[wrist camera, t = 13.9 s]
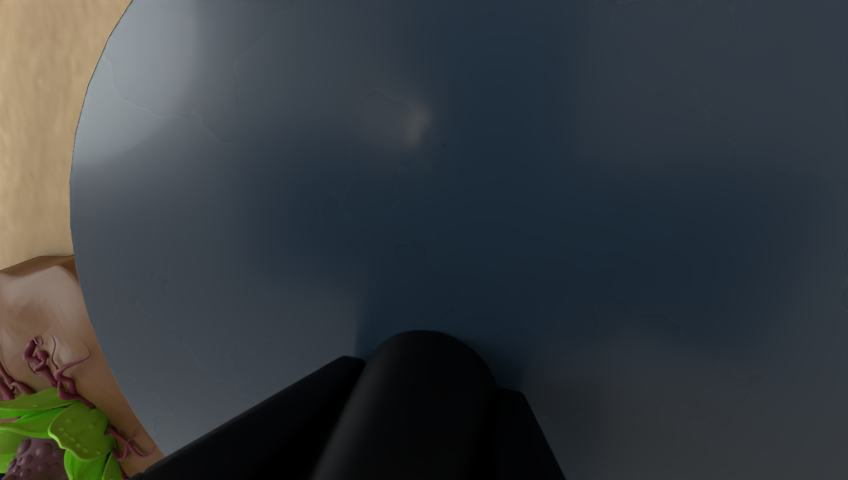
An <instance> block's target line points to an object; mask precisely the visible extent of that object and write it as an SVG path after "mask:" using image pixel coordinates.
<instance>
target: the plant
mask: <svg viewBox="0 0 848 480" xmlns="http://www.w3.org/2000/svg"><path fill="white" fill-rule="evenodd" d="M165 457H166V456H165V455H164V454H163V453H162V452H161V450H160V449H159V448H158V446H157V445H156V443H155V442H154V441H153V439H152V438H151V437H150V435H149V434H148V432H147V431H146V430H145V428H144V427H143V425H142V424H141V423H140V421H139V420H138V418H137V417H136V415H135V413H134V412H133V410H132V408H131V407H130V405H129V403H128V401H127V400H126V398H125V396H124V395H123V393H122V391H121V390H120V388H119V386H118V385H117V382H116V380H115V378H114V376H113V374H112V372H111V370H110V368H109V366H108V364H107V362H106V360H105V357H104V355H103V353H102V351H101V349H100V346H99V344H98V341H97V338H96V335H95V333H94V330H93V327H92V324H91V322H90V319H89V316H88V314H87V311H86V307H85V303H84V299H83V295H82V291H81V287H80V283H79V279H78V275H77V271H76V265H75V257H74V255H73V256H69V257H62V258H57V257H51V256H40V257H36V258H33V259H30V260H27V261H24V262H22V263H19V264H16V265H13V266H11V267H8V268H5V269H3V270H0V473H6V475H5V476H4V477H3V478H2V480H126V479H128V478H129V477H131V476H133V475H135V474H136V473H138V472H142V473H144V471H145V469H146V468H147V467H149V466H151V465H152V464H154V463H156V462H158V461H159V460H161V459H163V458H165Z"/></svg>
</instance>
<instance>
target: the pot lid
mask: <svg viewBox="0 0 848 480" xmlns="http://www.w3.org/2000/svg"><path fill="white" fill-rule="evenodd" d="M70 228H71V235H72V243H73V250H74V257H75V265H76V271H77V275H78V279H79V283H80V287H81V291H82V295H83V299H84V303H85V307H86V311H87V314H88V316H89V319H90V322H91V324H92V327H93V330H94V333H95V335H96V338H97V341H98V344H99V346H100V349H101V351H102V353H103V355H104V357H105V360H106V362H107V364H108V366H109V368H110V370H111V372H112V374H113V376H114V378H115V380H116V382H117V385H118V386H119V388H120V390H121V391H122V393H123V395H124V396H125V398H126V400H127V401H128V403H129V405H130V407H131V408H132V410H133V412H134V413H135V415H136V417H137V418H138V420H139V421H140V423H141V424H142V425H143V427H144V428H145V430H146V431H147V432H148V434H149V435H150V437H151V438H152V439H153V441H154V442H155V443H156V445H157V446H158V448H159V449H160V450H161V452H162V453H163V454H164V455H165V456H168V455H170V454H172V453H173V452H175V451H177V450H179V449H180V448H182V447H184V446H185V445H187V444H189V443H191V442H192V441H194V440H196V439H198V438H199V437H201V436H203V435H205V434H206V433H208V432H210V431H212V430H213V429H215V428H217V427H219V426H220V425H222V424H224V423H225V422H227V421H229V420H231V419H232V418H234V417H236V416H238V415H239V414H241V413H243V412H245V411H246V410H248V409H250V408H252V407H253V406H255V405H257V404H259V403H260V402H262V401H264V400H265V399H267V398H269V397H271V396H272V395H274V394H276V393H278V392H279V391H281V390H283V389H285V388H286V387H288V386H290V385H292V384H293V383H295V382H297V381H299V380H300V379H302V378H304V377H306V376H307V375H309V374H311V373H312V372H314V371H316V370H318V369H319V368H321V367H323V366H325V365H326V364H328V363H330V362H332V361H333V360H335V359H337V358H339V357H341V356H343V355H348V356H352V357H357V358H362V359H363V360H364V361H365V364H366V365H365V367H364V369H363V370H362V372H361V374H360V375H359V377H358V379H357V381H356V382H355V384H354V386H353V387H352V389H351V391H350V392H349V394H348V396H347V398H346V399H345V401H344V403H343V404H342V406H341V408H340V410H339V411H338V413H337V415H336V416H335V418H334V420H333V421H332V423H331V425H330V427H329V428H328V430H327V432H326V433H325V435H324V437H323V439H322V440H321V442H320V444H319V445H318V447H317V449H316V451H315V452H314V454H313V456H312V457H311V459H310V461H309V462H308V464H307V466H306V468H305V469H304V471H303V473H302V474H301V476H300V478H299V480H488V471H489V459H490V451H491V443H492V435H493V426H494V418H495V410H496V402H497V394H498V390H499V389H500V388H507V389H512V390H517V391H521V392H523V393H524V395H525V396H526V398H527V400H528V402H529V405H530V407H531V409H532V411H533V413H534V415H535V417H536V419H537V421H538V423H539V425H540V427H541V429H542V431H543V433H544V435H545V437H546V439H547V441H548V443H549V445H550V447H551V449H552V451H553V453H554V455H555V458H556V460H557V462H558V464H559V466H560V468H561V470H562V472H563V474H564V476H565V478H566V480H848V0H132V1H131V3H130V4H129V6H128V7H127V9H126V11H125V12H124V14H123V15H122V17H121V18H120V20H119V22H118V23H117V25H116V26H115V28H114V29H113V31H112V33H111V34H110V36H109V38H108V40H107V43H106V45H105V47H104V50H103V52H102V54H101V57H100V59H99V61H98V64H97V66H96V68H95V71H94V73H93V75H92V77H91V80H90V82H89V84H88V88H87V92H86V95H85V99H84V103H83V107H82V111H81V114H80V118H79V122H78V126H77V129H76V133H75V141H74V149H73V158H72V166H71V175H70Z"/></svg>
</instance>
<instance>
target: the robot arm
mask: <svg viewBox="0 0 848 480" xmlns="http://www.w3.org/2000/svg"><path fill="white" fill-rule="evenodd" d="M365 365H366V364H365V361H364V360H363V359H362V358H357V357H352V356H348V355H343V356H341V357H339V358H337V359H335V360H333V361H332V362H330V363H328V364H326V365H325V366H323V367H321V368H319V369H318V370H316V371H314V372H312V373H311V374H309V375H307V376H306V377H304V378H302V379H300V380H299V381H297V382H295V383H293V384H292V385H290V386H288V387H286V388H285V389H283V390H281V391H279V392H278V393H276V394H274V395H272V396H271V397H269V398H267V399H265V400H264V401H262V402H260V403H259V404H257V405H255V406H253V407H252V408H250V409H248V410H246V411H245V412H243V413H241V414H239V415H238V416H236V417H234V418H232V419H231V420H229V421H227V422H225V423H224V424H222V425H220V426H219V427H217V428H215V429H213V430H212V431H210V432H208V433H206V434H205V435H203V436H201V437H199V438H198V439H196V440H194V441H192V442H191V443H189V444H187V445H185V446H184V447H182V448H180V449H179V450H177V451H175V452H173V453H172V454H170V455H168V456H166V457H165V458H163V459H161V460H159V461H158V462H156V463H154V464H152V465H151V466H149V467H147V468H146V469H145V471H144V473H142V472H138V473H136V474H135V475H133V476H131V477H129V478H128V479H126V480H299V478H300V476H301V474H302V473H303V471H304V469H305V468H306V466H307V464H308V462H309V461H310V459H311V457H312V456H313V454H314V452H315V451H316V449H317V447H318V445H319V444H320V442H321V440H322V439H323V437H324V435H325V433H326V432H327V430H328V428H329V427H330V425H331V423H332V421H333V420H334V418H335V416H336V415H337V413H338V411H339V410H340V408H341V406H342V404H343V403H344V401H345V399H346V398H347V396H348V394H349V392H350V391H351V389H352V387H353V386H354V384H355V382H356V381H357V379H358V377H359V375H360V374H361V372H362V370H363V369H364V367H365ZM488 480H566V478H565V476H564V474H563V472H562V470H561V468H560V466H559V464H558V462H557V460H556V458H555V455H554V453H553V451H552V449H551V447H550V445H549V443H548V441H547V439H546V437H545V435H544V433H543V431H542V429H541V427H540V425H539V423H538V421H537V419H536V417H535V415H534V413H533V411H532V409H531V407H530V405H529V402H528V400H527V398H526V396H525V395H524V393H523V392H521V391H517V390H512V389H507V388H500V389H499V390H498V394H497V402H496V410H495V418H494V426H493V435H492V443H491V451H490V459H489V471H488Z"/></svg>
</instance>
